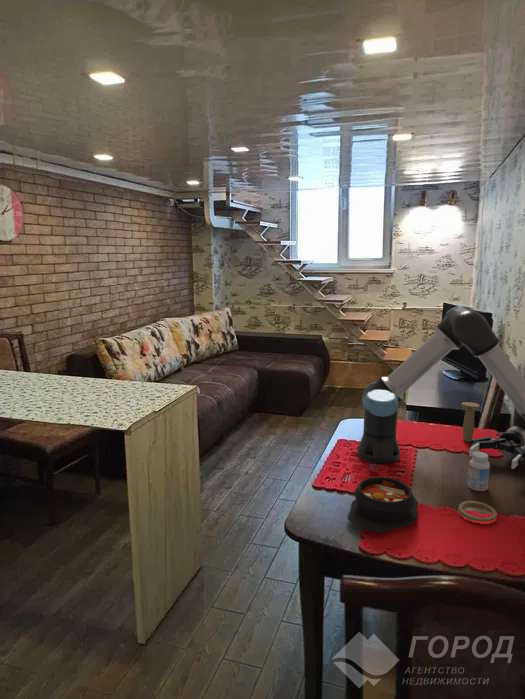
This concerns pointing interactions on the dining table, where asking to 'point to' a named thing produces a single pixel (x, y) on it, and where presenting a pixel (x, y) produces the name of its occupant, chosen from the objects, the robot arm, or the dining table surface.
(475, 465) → the pill bottle
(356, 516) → the casserole
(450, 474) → the dining table surface
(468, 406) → the handle
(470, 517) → the ring
